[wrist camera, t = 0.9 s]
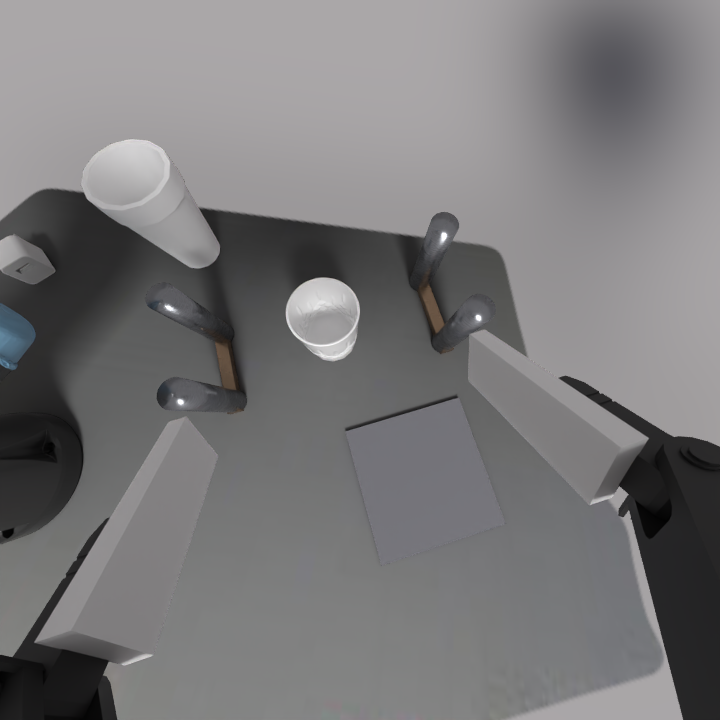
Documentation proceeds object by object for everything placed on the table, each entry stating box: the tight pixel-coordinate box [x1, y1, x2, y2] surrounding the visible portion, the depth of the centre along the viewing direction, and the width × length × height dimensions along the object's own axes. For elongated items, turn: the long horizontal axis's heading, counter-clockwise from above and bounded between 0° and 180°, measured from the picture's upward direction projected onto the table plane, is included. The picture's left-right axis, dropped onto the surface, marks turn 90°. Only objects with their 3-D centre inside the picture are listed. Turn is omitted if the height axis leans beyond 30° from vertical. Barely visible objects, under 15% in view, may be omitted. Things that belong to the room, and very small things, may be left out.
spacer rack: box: [146, 212, 496, 414], centre depth 31 cm, size 33×13×12 cm, turn 106°
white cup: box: [286, 278, 360, 361], centre depth 32 cm, size 8×8×10 cm
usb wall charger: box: [0, 234, 55, 284], centre depth 38 cm, size 4×7×4 cm, turn 40°
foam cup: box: [81, 139, 220, 269], centre depth 34 cm, size 10×9×13 cm
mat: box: [346, 398, 506, 566], centre depth 33 cm, size 16×16×1 cm
